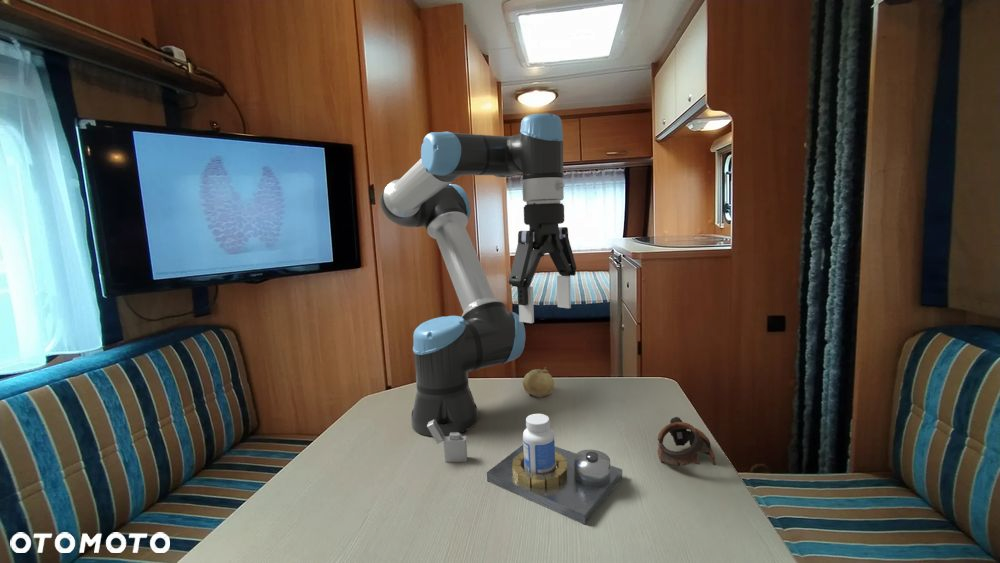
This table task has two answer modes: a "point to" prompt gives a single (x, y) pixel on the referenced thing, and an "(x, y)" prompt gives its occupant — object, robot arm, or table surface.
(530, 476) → the carrier plate
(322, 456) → the table surface
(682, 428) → the pottery mug
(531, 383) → the onion
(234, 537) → the table surface
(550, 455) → the pill bottle
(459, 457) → the lighter
